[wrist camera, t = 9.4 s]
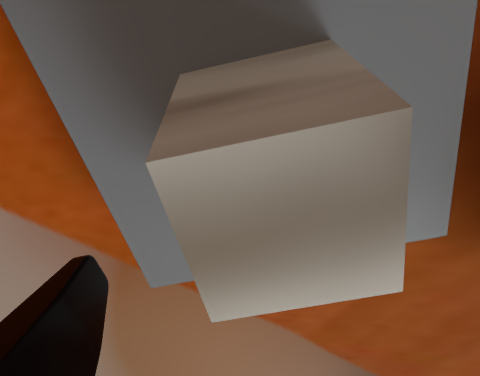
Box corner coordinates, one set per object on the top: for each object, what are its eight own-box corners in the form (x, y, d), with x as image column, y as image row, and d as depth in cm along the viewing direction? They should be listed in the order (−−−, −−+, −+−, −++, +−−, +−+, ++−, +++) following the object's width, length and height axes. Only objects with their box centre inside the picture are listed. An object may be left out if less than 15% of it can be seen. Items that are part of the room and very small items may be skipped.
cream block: (340, 171, 14) (402, 291, 9) (217, 195, 15) (211, 322, 10) (331, 39, 11) (412, 106, 6) (180, 74, 12) (145, 162, 7)
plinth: (401, 177, 20) (446, 235, 16) (165, 223, 22) (151, 288, 17) (412, -150, 13) (503, -199, 9) (48, -47, 14) (-27, -48, 10)
